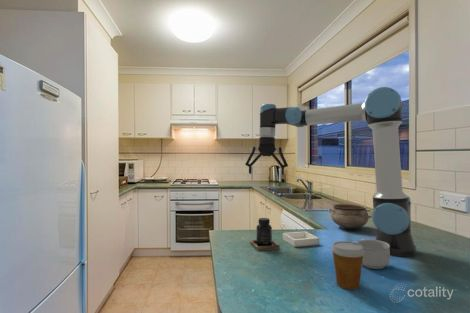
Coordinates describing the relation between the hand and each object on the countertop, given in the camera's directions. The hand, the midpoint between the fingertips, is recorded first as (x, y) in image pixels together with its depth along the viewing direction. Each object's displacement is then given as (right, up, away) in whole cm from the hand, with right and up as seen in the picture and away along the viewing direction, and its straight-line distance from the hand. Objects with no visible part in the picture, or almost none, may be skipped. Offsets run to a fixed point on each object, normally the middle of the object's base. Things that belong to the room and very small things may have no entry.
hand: (265, 181), depth 134 cm
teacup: (+35, -27, -33) cm, 55 cm away
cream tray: (+15, -27, -6) cm, 32 cm away
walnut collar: (-2, -28, -12) cm, 30 cm away
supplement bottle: (-2, -28, -12) cm, 30 cm away
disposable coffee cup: (+19, -27, -50) cm, 60 cm away
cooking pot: (+48, -28, +18) cm, 58 cm away
